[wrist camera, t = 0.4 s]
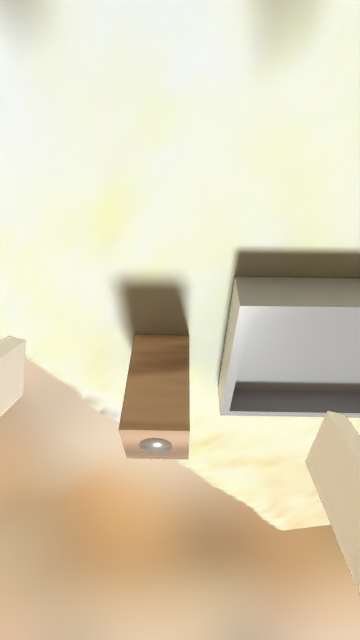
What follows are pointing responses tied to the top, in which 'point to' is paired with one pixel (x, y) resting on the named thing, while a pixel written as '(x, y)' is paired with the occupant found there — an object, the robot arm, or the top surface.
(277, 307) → the tray
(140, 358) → the bored block
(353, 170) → the top surface
